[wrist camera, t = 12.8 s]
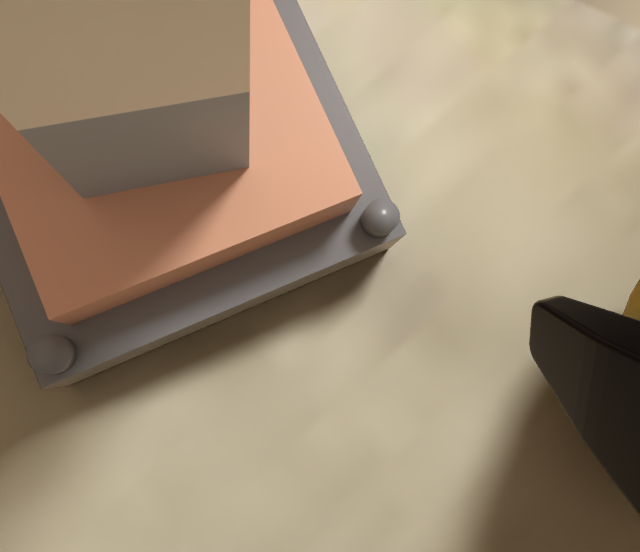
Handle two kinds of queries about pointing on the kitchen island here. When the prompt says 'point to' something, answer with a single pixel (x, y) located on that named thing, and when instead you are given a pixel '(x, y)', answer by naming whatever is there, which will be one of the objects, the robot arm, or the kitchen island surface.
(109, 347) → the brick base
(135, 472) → the kitchen island surface
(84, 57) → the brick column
